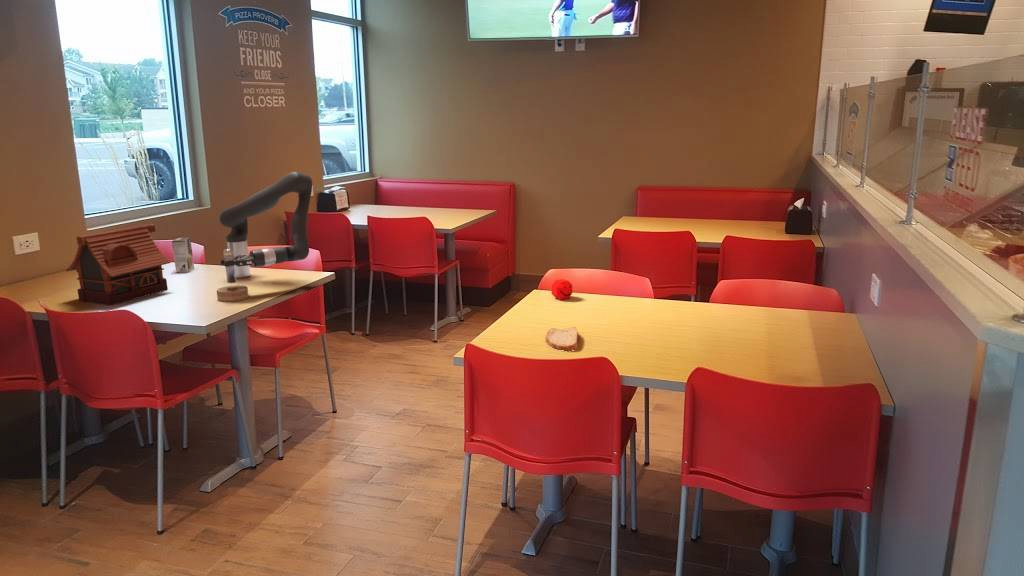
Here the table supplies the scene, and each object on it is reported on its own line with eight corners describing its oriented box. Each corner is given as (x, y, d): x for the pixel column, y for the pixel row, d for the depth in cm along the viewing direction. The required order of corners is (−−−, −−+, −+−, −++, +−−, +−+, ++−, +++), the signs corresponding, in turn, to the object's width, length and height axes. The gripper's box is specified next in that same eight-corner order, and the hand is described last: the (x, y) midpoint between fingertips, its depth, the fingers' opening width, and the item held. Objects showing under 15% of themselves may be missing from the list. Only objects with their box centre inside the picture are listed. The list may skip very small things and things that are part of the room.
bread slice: (569, 354, 237) (569, 343, 236) (528, 343, 249) (528, 332, 248) (602, 341, 250) (602, 330, 249) (561, 331, 261) (561, 321, 260)
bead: (214, 297, 312) (213, 288, 311) (242, 292, 320) (241, 283, 319) (223, 302, 303) (222, 293, 302) (252, 297, 311) (251, 288, 310)
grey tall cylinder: (226, 281, 310) (222, 249, 307) (234, 280, 312) (230, 248, 309) (228, 283, 307) (224, 250, 304) (237, 281, 309) (233, 249, 306)
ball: (559, 301, 299) (559, 283, 297) (548, 297, 306) (548, 279, 304) (575, 298, 303) (575, 281, 301) (564, 294, 310) (564, 277, 308)
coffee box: (181, 268, 369) (177, 237, 365) (194, 268, 370) (190, 237, 366) (175, 272, 360) (171, 240, 356) (188, 272, 361) (185, 240, 357)
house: (112, 308, 297) (102, 238, 290) (67, 301, 309) (55, 234, 302) (182, 288, 328) (174, 225, 321) (138, 283, 340) (129, 221, 333)
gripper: (255, 247, 321) (216, 252, 310) (268, 251, 310) (227, 257, 300) (257, 263, 323) (218, 269, 312) (269, 268, 312) (229, 274, 301)
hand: (222, 263), depth 306 cm, fingers closed on grey tall cylinder, 3 cm apart
